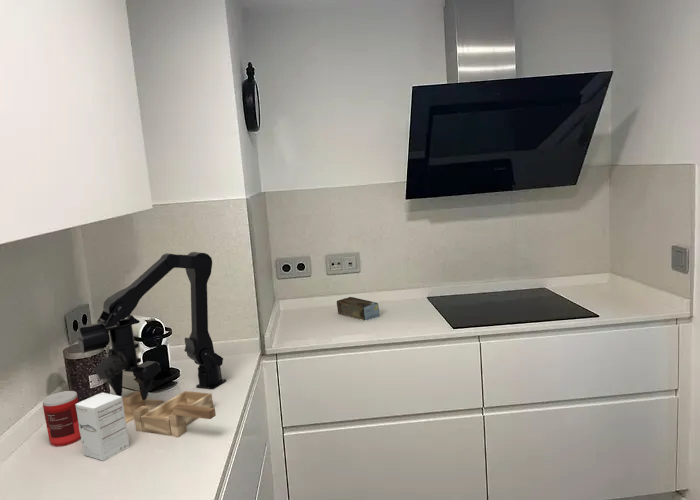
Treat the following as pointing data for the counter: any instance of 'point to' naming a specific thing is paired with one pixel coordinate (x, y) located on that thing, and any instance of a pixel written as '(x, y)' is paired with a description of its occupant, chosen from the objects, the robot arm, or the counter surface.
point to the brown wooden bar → (194, 411)
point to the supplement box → (102, 426)
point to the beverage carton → (358, 308)
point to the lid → (137, 404)
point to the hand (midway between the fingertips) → (131, 398)
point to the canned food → (62, 418)
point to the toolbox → (170, 414)
